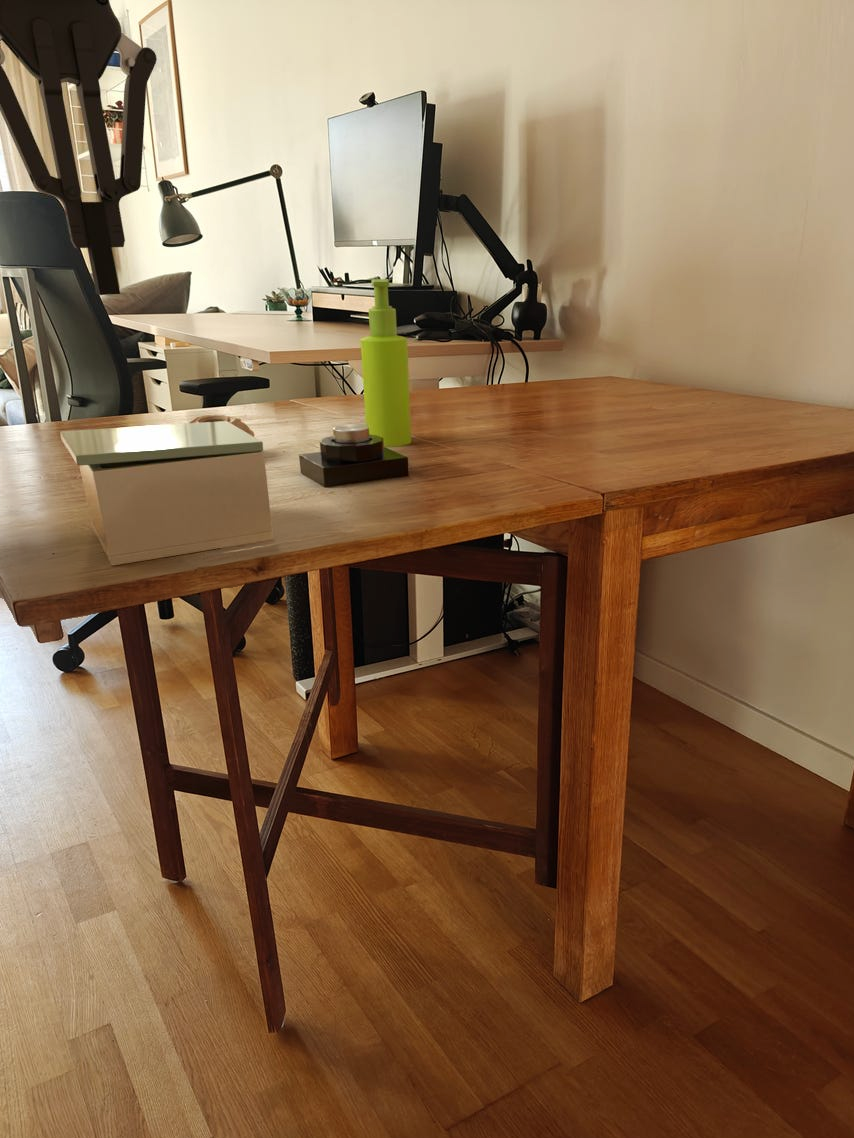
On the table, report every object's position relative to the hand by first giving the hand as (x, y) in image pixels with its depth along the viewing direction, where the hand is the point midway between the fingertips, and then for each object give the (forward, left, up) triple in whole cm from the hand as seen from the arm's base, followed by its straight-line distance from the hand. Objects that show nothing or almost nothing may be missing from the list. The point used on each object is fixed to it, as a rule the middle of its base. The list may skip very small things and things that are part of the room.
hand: (108, 293), depth 69 cm
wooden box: (+3, 0, -20) cm, 21 cm away
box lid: (+2, 0, -12) cm, 12 cm away
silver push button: (+25, +13, -17) cm, 32 cm away
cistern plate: (+25, +13, -20) cm, 34 cm away
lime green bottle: (+36, +28, -21) cm, 50 cm away
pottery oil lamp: (+12, +29, -21) cm, 37 cm away
